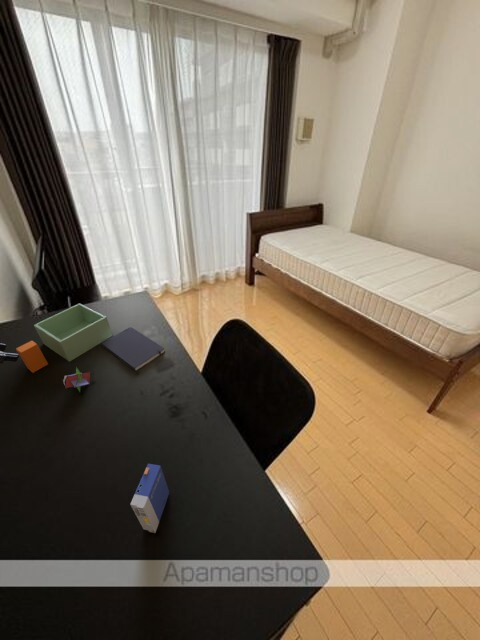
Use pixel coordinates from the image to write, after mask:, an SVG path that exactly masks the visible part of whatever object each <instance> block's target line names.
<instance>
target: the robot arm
mask: <svg viewBox="0 0 480 640" xmlns="http://www.w3.org/2000/svg"><path fill="white" fill-rule="evenodd" d="M7 346H8V345H7V344H5V343H0V364H3V363H4V361H5V362H18V360H19V357H20V355H19V354H18V353H12V352H5V351H6V348H7Z"/></svg>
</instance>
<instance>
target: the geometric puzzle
mask: <svg viewBox="0 0 480 640" xmlns="http://www.w3.org/2000/svg"><path fill="white" fill-rule="evenodd" d="M71 373H72V371H71V372H69V374H67V375H64V378H63V379H62V382H63V383H62V384H64V386H65V389H70V388H71V389H72V388H73V389H76V390H77V391H78V393H81V387H83V386H84V389H86V388H87V387H88V386H89V385H90V384H91V383H90V382H91V371H83V372H81V370H80V368H79V367H78V366H76V367H75V373H72V374H71Z"/></svg>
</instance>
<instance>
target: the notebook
mask: <svg viewBox="0 0 480 640" xmlns="http://www.w3.org/2000/svg"><path fill="white" fill-rule="evenodd" d="M100 344H101V347H103V348H104V349H105V350H107V351H108V352H109V353H111V354H112V355H114V357H116V358H117V359H119V360H120V361H121V362H122V363H124V364H125V365H126V366H128V367H129V368H130V369H132V370H133V371H134V372H138V371H139V370H140V369H142V368H143V367H145V366H146V365H148V364H149V363H151V362H152V361H154V360H155V359H157V358H159V357H160V356H162V355H163V354H165V352H166V350H165V347H164V346H162V345H161V344H159V343H158V342H156V341H155V340H153V339H151V338H150V337H148V336H146V335H145V334H143V333H142V332H140V331H138V330H137V329H136V328H134V327H133V326H132V327H131V326H129V327H127V328H126V329H124V330H122V331H120V332H118V333H116V334H115V335H113V336H111V337H109V338H108V339H106V340H104V341H103V342H101V343H100Z"/></svg>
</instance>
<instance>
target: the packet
mask: <svg viewBox="0 0 480 640" xmlns="http://www.w3.org/2000/svg"><path fill="white" fill-rule="evenodd" d="M15 351H16V353H17V354H18V355H19V357H20V358H21V360H22V362H23V363H24V365H25V366H26V368H27V369H28V370H29V371H30V372H31V373H32V374H34V373H35V372H37V371H39V370H40V369H42V368H44V367H46V366H48V365H49V363H48V361H47V359H46V357H45V356H44V354H43V352H42V350H41V348H40V346H39V345H38V344H37V343H36V342H35V341H33V340H30V341H28V342H26V343H24V344H22V345H20V346H18V347H16V348H15Z"/></svg>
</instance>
